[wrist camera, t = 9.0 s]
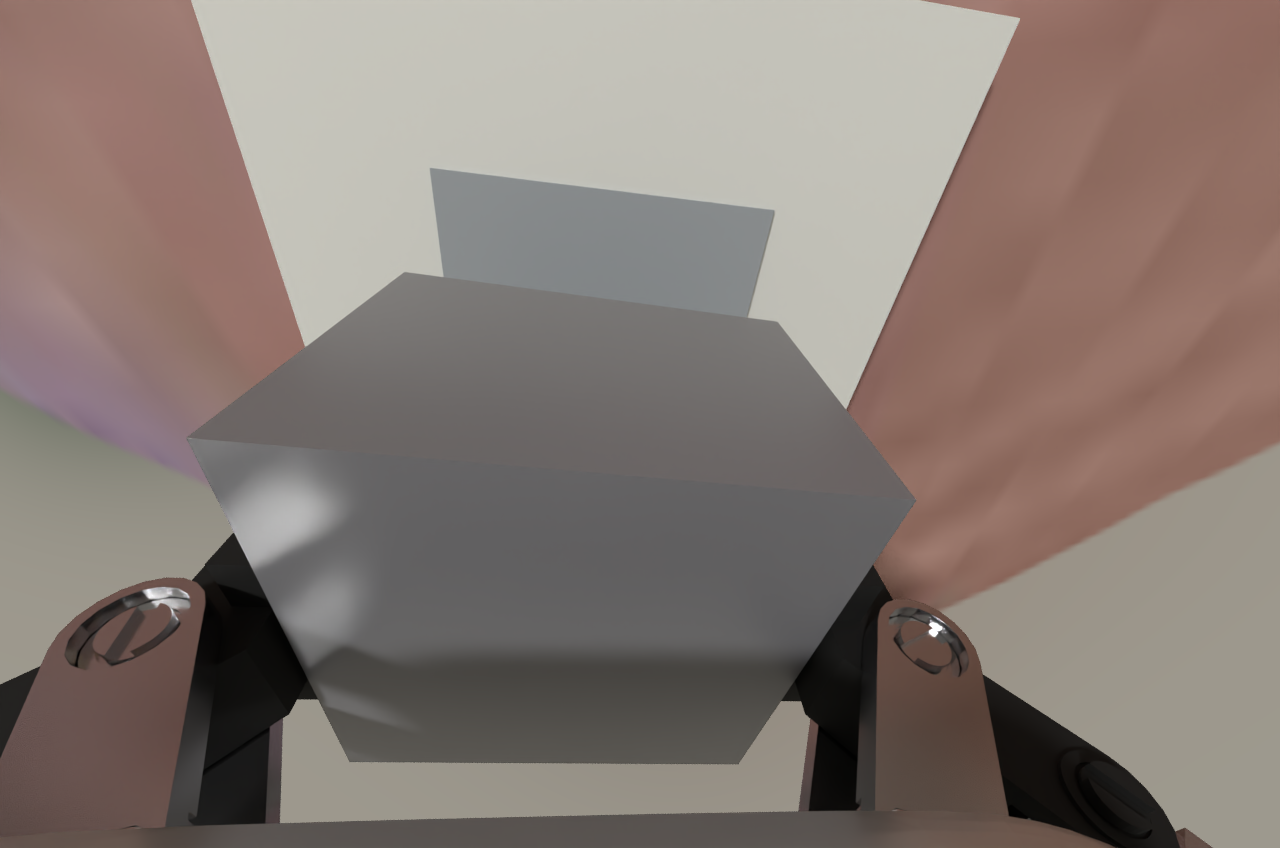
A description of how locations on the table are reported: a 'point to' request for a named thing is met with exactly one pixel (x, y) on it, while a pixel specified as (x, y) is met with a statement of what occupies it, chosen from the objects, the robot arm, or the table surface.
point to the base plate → (608, 149)
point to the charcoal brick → (549, 522)
